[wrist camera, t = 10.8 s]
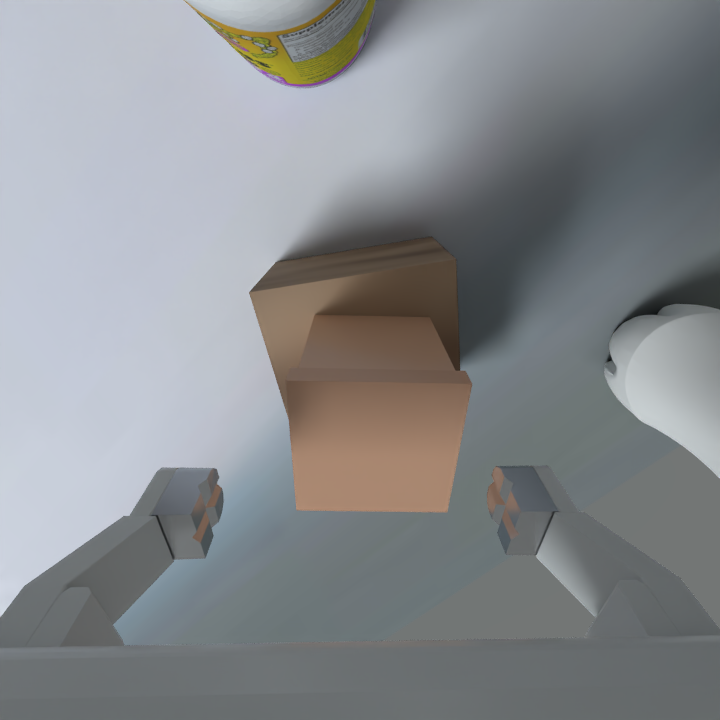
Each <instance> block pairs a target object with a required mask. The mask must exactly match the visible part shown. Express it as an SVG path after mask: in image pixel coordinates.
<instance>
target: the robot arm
mask: <svg viewBox="0 0 720 720" xmlns="http://www.w3.org/2000/svg"><path fill="white" fill-rule="evenodd" d="M492 477H493V480H494V482H493V483H492V484H491V485H490V486H489V488H488V492H487V504H488V509H489V512H490V515H491V518H492V519H493V520H494V521H495V522H496V523H497V524H498V525H500V526H499V529H498V532H497V533H498V536H499V539H500V541H501V544H502V546H503V549H504V551H505V554H506V555H537V556H536V557H537V558H538V559H539V560H540V561H541V562H542V564H544V566H546V568H547V569H548V570H549V571H550V572H551V573H552V574H553V575H554V576H556V578H557V579H558V580H559V581H560V582H561V583H562V584H563V585H564V586H565V587H566V588H567V589H568V590H569V591H570V592H571V593H572V594H573V595H574V596H575V597H576V598H577V599H578V600H579V601H580V602H581V603H582V604H583V605H584V606H585V607H586V608H587V609H588V610H589V611H590V612H591V613H592V614H593V615H594V616H595V617H596V618H595V620H594V621H593V623H592V625H591V626H590V628H589V629H588V631H587V633H586V635H585V637H583V638H528V639H527V638H526V639H467V640H406V641H347V642H291V643H234V644H178V645H124V643H123V640H122V638H121V637H120V635H119V633H118V632H117V630H116V629H115V627H114V626H113V624H114V623H115V622H116V621H117V620H118V619H119V618H120V617H121V616H122V615H123V614H124V613H125V612H126V611H127V610H128V609H129V608H130V607H131V606H132V604H133V603H134V602H135V601H136V600H137V599H138V598H139V597H140V596H141V595H142V594H143V593H144V592H145V591H146V590H147V589H148V588H149V587H150V586H151V585H152V584H153V583H154V582H155V581H156V580H157V578H158V577H159V576H160V575H161V574H162V573H163V572H164V571H165V570H166V569H167V568H168V567H169V566H170V565H171V564H172V563H173V562H174V560H176V559H201V558H206V555H207V552H208V550H209V547H210V544H211V542H212V539H213V532H212V527H213V526H214V525H215V524H217V523H218V522H219V519H220V516H221V513H222V508H223V502H224V501H223V491H222V488H221V487H220V486H219V485H217V481H218V479H219V475H218V472H217V469H215V468H161V469H160V470H158V471H157V472H156V474H155V475H154V477H153V479H152V480H151V482H150V483H149V485H148V487H147V488H146V490H145V492H144V493H143V495H142V496H141V498H140V500H139V501H138V503H137V504H136V506H135V508H134V509H133V511H132V513H131V514H130V516H123V517H122V518H121V519H119V520H118V521H116V522H115V523H113V524H112V525H111V526H109V527H108V528H106V529H105V530H103V531H102V532H101V533H99V534H98V535H96V536H95V537H93V538H92V539H91V540H89V541H88V542H86V543H85V544H84V545H82V546H81V547H79V548H78V549H76V550H75V551H74V552H72V553H71V554H69V555H68V556H66V557H65V558H64V559H62V560H61V561H59V562H58V563H56V564H55V565H54V566H52V567H51V568H49V569H48V570H46V571H45V572H44V573H42V574H41V575H39V576H38V577H37V578H35V579H34V580H32V581H31V582H29V583H28V584H27V585H25V586H24V587H23V589H22V590H21V591H20V593H19V594H18V595H17V596H16V598H15V599H14V600H13V602H12V603H11V604H10V606H9V607H8V608H7V610H6V611H5V612H4V614H3V615H2V616H1V617H0V720H720V629H719V627H718V626H717V625H716V623H715V622H714V621H713V620H712V618H711V617H710V616H709V614H708V613H707V612H706V611H705V609H704V608H703V607H702V605H701V604H700V603H699V601H698V600H697V599H696V598H695V596H694V595H693V594H692V593H691V591H690V590H689V589H688V587H687V586H686V585H685V583H684V582H683V581H682V580H681V578H680V577H678V576H676V575H675V574H674V573H672V572H671V571H670V570H668V569H667V568H665V567H664V566H662V565H661V564H659V563H658V562H656V561H655V560H653V559H652V558H650V557H649V556H648V555H646V554H645V553H643V552H642V551H640V550H639V549H637V548H636V547H634V546H633V545H632V544H630V543H629V542H627V541H626V540H625V539H623V538H622V537H620V536H619V535H617V534H616V533H614V532H613V531H611V530H610V529H608V528H607V527H606V526H604V525H603V524H601V523H600V522H598V521H597V520H595V519H594V518H593V517H591V516H589V515H588V514H587V513H585V512H579V511H578V509H577V507H576V506H575V504H574V503H573V501H572V500H571V498H570V497H569V495H568V494H567V492H566V490H565V489H564V487H563V486H562V484H561V483H560V481H559V480H558V478H557V477H556V475H555V474H554V472H553V470H552V469H551V468H550V467H549V466H547V465H541V466H496V467H495V468H494V469H493V473H492Z"/></svg>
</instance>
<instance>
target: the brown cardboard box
mask: <svg viewBox="0 0 720 720" xmlns="http://www.w3.org/2000/svg"><path fill="white" fill-rule="evenodd" d="M471 387H472V383H471V381H470V379H469V377H468V375H467V373H466V371H455V369H454V366H453V364H452V362H451V360H450V358H449V356H448V354H447V352H446V350H445V348H444V346H443V344H442V342H441V340H440V337H439V335H438V333H437V331H436V329H435V327H434V325H433V323H432V321H431V319H430V317H400V316H352V315H314V318H313V322H312V325H311V328H310V332H309V335H308V338H307V341H306V345H305V348H304V351H303V355H302V358H301V361H300V364H299V368H290V370H289V372H288V375H287V378H286V390H287V402H288V414H289V426H290V438H291V450H292V462H293V474H294V485H295V497H296V509H297V510H312V511H387V512H447V510H448V505H449V500H450V495H451V490H452V485H453V480H454V475H455V469H456V464H457V459H458V454H459V449H460V444H461V439H462V434H463V428H464V423H465V418H466V413H467V408H468V403H469V398H470V393H471Z"/></svg>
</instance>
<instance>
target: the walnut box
mask: <svg viewBox="0 0 720 720" xmlns="http://www.w3.org/2000/svg"><path fill="white" fill-rule="evenodd" d="M249 294H250V297H251V300H252V303H253V306H254V310H255V313H256V316H257V319H258V322H259V326H260V329H261V332H262V335H263V339H264V342H265V345H266V348H267V351H268V355H269V358H270V361H271V364H272V367H273V371H274V374H275V377H276V380H277V383H278V387H279V390H280V393H281V396H282V399H283V403H284V406H285V409H286V412H287V415H288V419H289V414H288V402H287V390H286V378H287V375H288V372H289V370H290V368H299V364H300V361H301V358H302V355H303V351H304V348H305V345H306V341H307V338H308V335H309V332H310V328H311V325H312V322H313V318H314V315H352V316H400V317H430V319H431V321H432V323H433V325H434V327H435V329H436V331H437V333H438V335H439V337H440V340H441V342H442V344H443V346H444V348H445V350H446V352H447V354H448V356H449V358H450V360H451V362H452V364H453V366H454V369H455V371H460V351H459V323H458V296H457V268H456V259H455V258H454V257H453V256H452V255H451V254H450V253H449V252H448V251H447V250H446V249H445V248H444V247H442V246H441V245H440V244H439V243H438V242H437V241H436V240H435V239H434V238H433V237H426V238H420V239H414V240H408V241H402V242H396V243H390V244H384V245H378V246H372V247H366V248H360V249H354V250H348V251H342V252H336V253H330V254H324V255H317V256H311V257H305V258H299V259H293V260H287V261H281V262H276V263H275V264H274V265H273V266H272V267H271V268H270V269H269V271H268V272H267V273H266V274H265V275H264V276H263V277H262V278H261V280H260V281H259V282H258V283H257V284H256V285H255V286H254V287H253V289H252V290H251V291H250V292H249Z"/></svg>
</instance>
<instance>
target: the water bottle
mask: <svg viewBox="0 0 720 720" xmlns="http://www.w3.org/2000/svg"><path fill="white" fill-rule="evenodd" d="M609 351H610V354H611V357H612V361H609V362H606V363H605V370H604V374H605V377H606V380H607V382H608V385H609V386H610V388H611V390H612V391H613V393H614V394H615V396H616V397H617V399H618V400H619V401H620V402H621V403H622V404H623V405H624V406H625V407H626V408H627V409H628V410H629V411H631V412H632V413H633V414H634V415H635V416H636V417H637V418H638V419H639V420H640V421H642V422H643V423H645V424H647V425H649V426H652V427H654V428H655V429H657V430H659V431H660V432H662V433H664V434H666V435H667V436H669V437H670V438H672V439H673V440H675V441H676V442H678V443H679V444H681V445H682V446H684V447H685V448H686V449H687V450H689V451H690V452H691V453H692V454H694V455H695V456H696V457H697V458H699V459H700V460H701V461H702V462H703V463H704V464H705V465H706V466H707V467H708V468H710V469H711V470H712V471H713V472H714V473H715V474H716V475H717V476H718V477H719V478H720V309H716V308H712V307H708V306H702V305H692V304H672V305H669V306H665V307H663V308H662V309H661V310H660V311H659V312H658V314H657V315H643V316H637V317H634V318H632V319H631V320H628V321H626V322H624V323H623V324H622V325H621V326H620V327H619V328H618V329H617V330H616V331H615V332H614V333H613V335H612V337H611V340H610V342H609Z"/></svg>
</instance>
